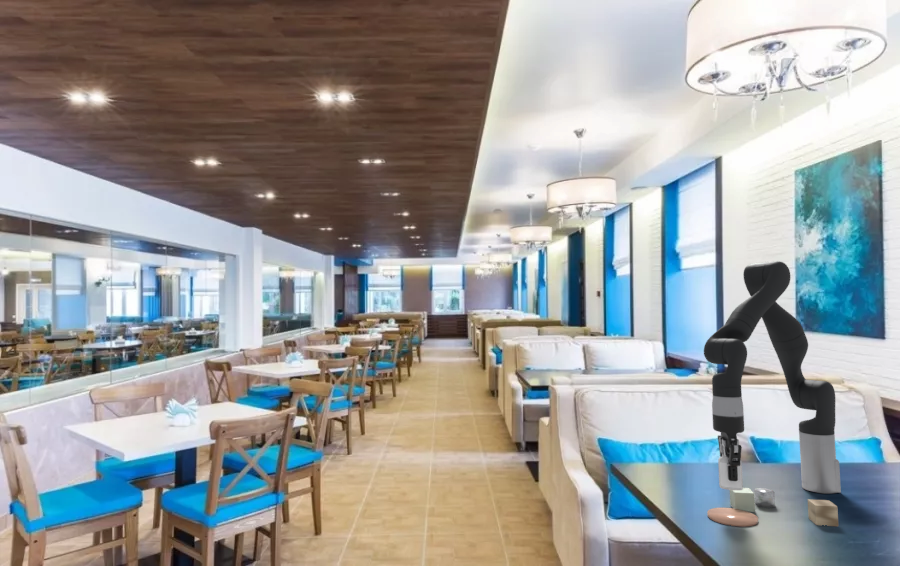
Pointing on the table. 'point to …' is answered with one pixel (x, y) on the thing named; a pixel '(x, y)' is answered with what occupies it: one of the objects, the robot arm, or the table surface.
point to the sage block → (742, 499)
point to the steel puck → (764, 497)
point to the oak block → (823, 512)
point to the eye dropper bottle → (723, 475)
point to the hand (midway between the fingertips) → (730, 478)
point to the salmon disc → (732, 517)
